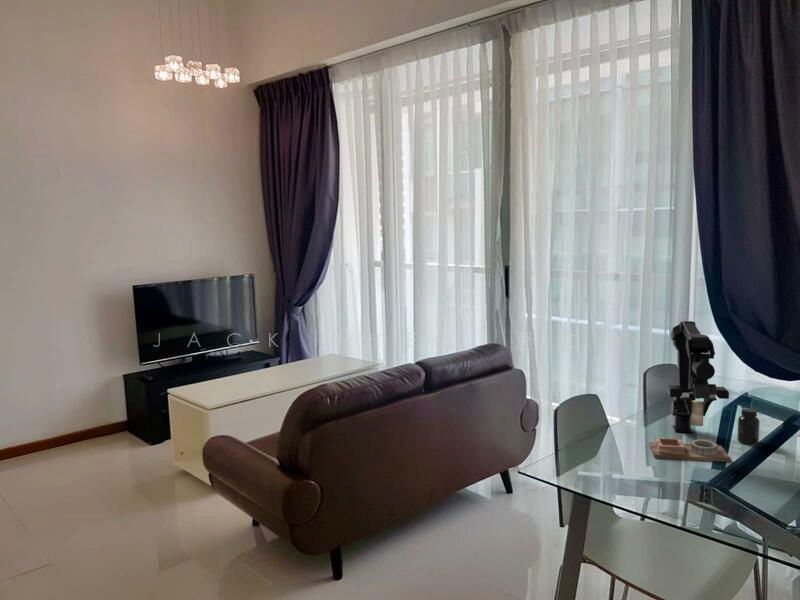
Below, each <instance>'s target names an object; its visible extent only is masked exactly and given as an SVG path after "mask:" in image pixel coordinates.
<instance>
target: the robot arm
mask: <svg viewBox="0 0 800 600" xmlns="http://www.w3.org/2000/svg"><path fill="white" fill-rule="evenodd" d="M696 325H697V324H696V322H695V321H693V320H692V321H689V320H688V321H687V320H683V321H680V322H679V324H677V325H675V326H674V327H672V330H671V332H670V339H671V341H672V345H673V347H674V349H676V352H677V385H673V384H672V385H671V384H670V385H668V386H667V390H666V391H667V394H668V396H669V397H671V398H673V399H672V401H671V405H670V406H669V407H670V414H671V415H672V417H673V416H674V424H673V425H672V426H673V427H672V429H673V428H674V429H673V430H674V432H675V433H687V434H688V433H692V434H693V433H694V429H693V428H692V425H691V424H690V420H691V401H693V400H697V399H698V400H700V399H703V401H702V402H704V410H703V417H705V416H706V415H707V412H708V409H709V407H710V406H711V404H712V403H713V402H714V401H715V402H716V401H717V398H718V399H723V400H725V399H726V400H728V399H730V392H729V391H728V389H727V388H726V387H725V386H717V384H716V383H709V382H708V380H711V379H712V378H713V377H714V376H715V372H716V370H715V366H713V364H711V363H710V360H711V359H715V355H716V352H715V347H714V343H713V341H712V340H711V339H710V337H709V336H708V335H706V334H703V333H701V331H700V330H699V329H698V327H697V326H696Z"/></svg>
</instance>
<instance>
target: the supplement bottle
mask: <svg viewBox="0 0 800 600" xmlns="http://www.w3.org/2000/svg"><path fill="white" fill-rule="evenodd" d="M740 414H741V415H739V417H737V434H736V435H737V436H736V437H737V438H736V439H737V441H738V443H740V444H745V445H748V444H749V445H750V446H755V445H757V444H759V442H760V441H759V440H760V422H761V421H760V419H759V418H758V417H757V416H758V410H756V409H754V408H749V407H748V408H746V407H744V408H741V412H740ZM754 444H755V445H754ZM749 445H748V446H749Z"/></svg>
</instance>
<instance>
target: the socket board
mask: <svg viewBox="0 0 800 600" xmlns="http://www.w3.org/2000/svg"><path fill="white" fill-rule="evenodd" d="M648 446H649V449H650V451H651V453H652V456H653V458H654V459H662V460H663V459H665V460H666V459H667V460H684V461H685V460H686V461H687V460H688V461H704V462H706V461H707V462H724V463H726V462H727V463H731V457H730V456H729V454H728V453H727V451H726V450H725V449H724V447H723V446H722V445H721V444H719V445H718V444H717V443H716V442H714V441H711V440H708V439H701V438H700V439H699V438H698V439H692V440H691V441H690V442H689V443H683V441H682V439H681V438H675V437H674V438H673V437H672V438H671V437H654V441H653V442H651V441H649V442H648Z"/></svg>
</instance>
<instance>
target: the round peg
mask: <svg viewBox="0 0 800 600" xmlns="http://www.w3.org/2000/svg"><path fill="white" fill-rule="evenodd" d="M703 410H704V402H703V401H702V400H699V399H698V400H697V399H696V400H693V401H691V420H690V424H691V426H695V427H702V426H704V416H703Z"/></svg>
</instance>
